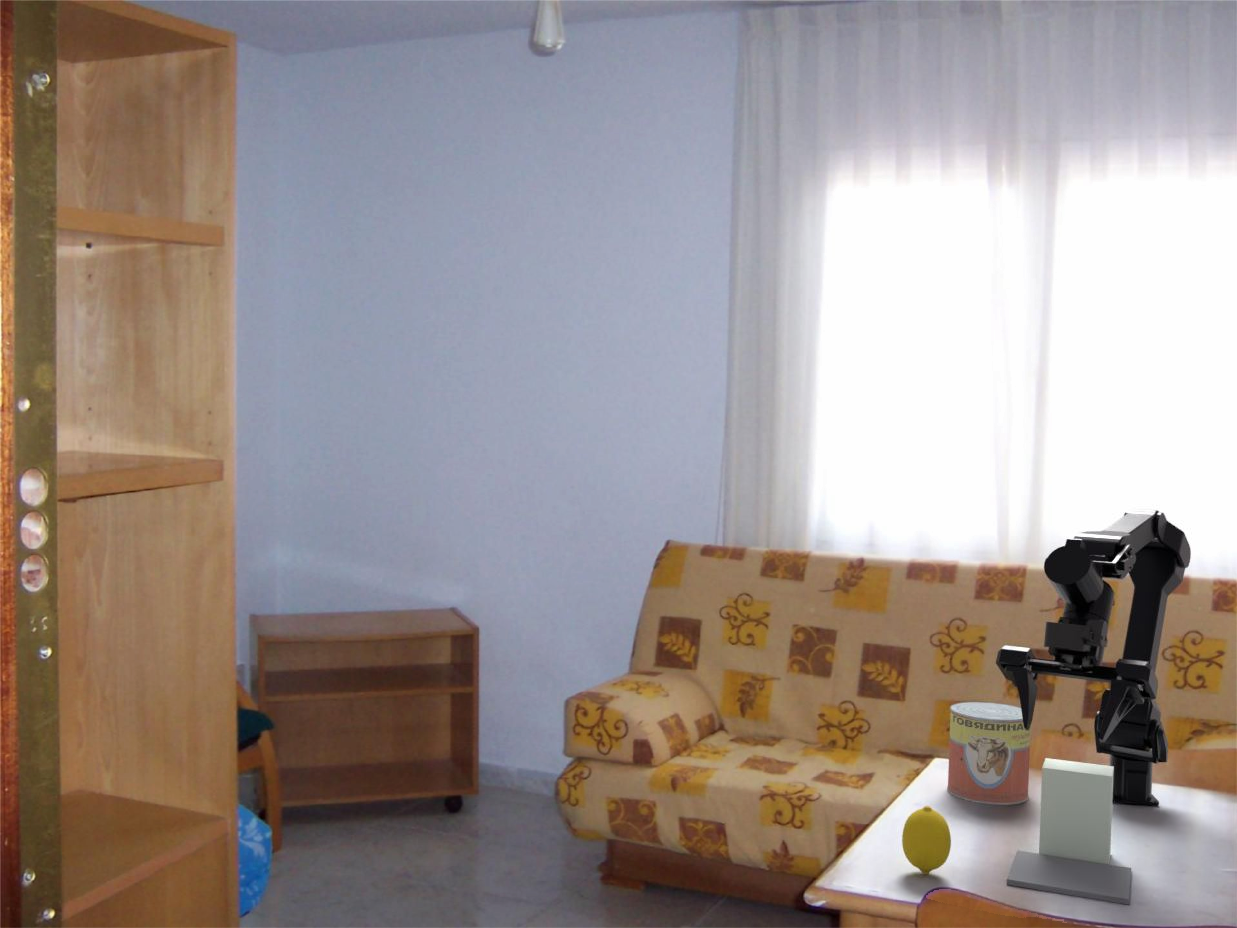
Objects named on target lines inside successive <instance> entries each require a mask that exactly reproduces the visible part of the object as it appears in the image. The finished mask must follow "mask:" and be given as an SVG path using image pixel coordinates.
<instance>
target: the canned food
mask: <svg viewBox="0 0 1237 928" xmlns="http://www.w3.org/2000/svg"><path fill="white" fill-rule="evenodd" d="M949 710H950V715H949V716H950V717H949V720H950V721H949V745H948V746H949V749H948V771H947V773H948V776H947V779H948V780H947V787H946V791H947V792H948V793H949V794H951V795H952V796H954V797H956V798H958V799H962V800H965V801H968V802H973V803H978V804H983V805H994V806H995V805H996V806H997V805H998V806H1009V805H1019V804H1023V803H1025V802H1027V801H1028V800H1029V798H1030V797H1029V778H1030V777H1029V776H1030V754H1031V751H1030V749H1031V748H1030V747H1031V728H1032V727H1031V726H1032V725H1031V726H1030V729H1029V730H1025V728H1024V725H1023V718H1022V711H1021V706H1020V707H1019V706H1016V705H1011V704H1006V703H999V702H990V701H964V702H963V701H962V702H956V703H954V704H951V706H950V707H949Z"/></svg>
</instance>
